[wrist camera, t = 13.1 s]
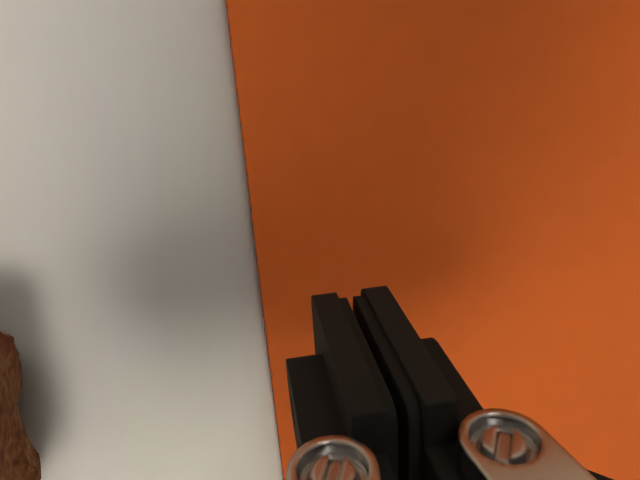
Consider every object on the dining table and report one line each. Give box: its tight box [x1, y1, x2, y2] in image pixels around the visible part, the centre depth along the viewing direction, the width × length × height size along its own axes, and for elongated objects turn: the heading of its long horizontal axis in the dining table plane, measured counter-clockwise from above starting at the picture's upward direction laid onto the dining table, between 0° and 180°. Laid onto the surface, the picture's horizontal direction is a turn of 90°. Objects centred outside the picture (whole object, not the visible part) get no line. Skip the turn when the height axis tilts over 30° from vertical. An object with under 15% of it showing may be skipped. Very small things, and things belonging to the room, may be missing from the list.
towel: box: [226, 0, 640, 480], centre depth 16 cm, size 26×20×1 cm
